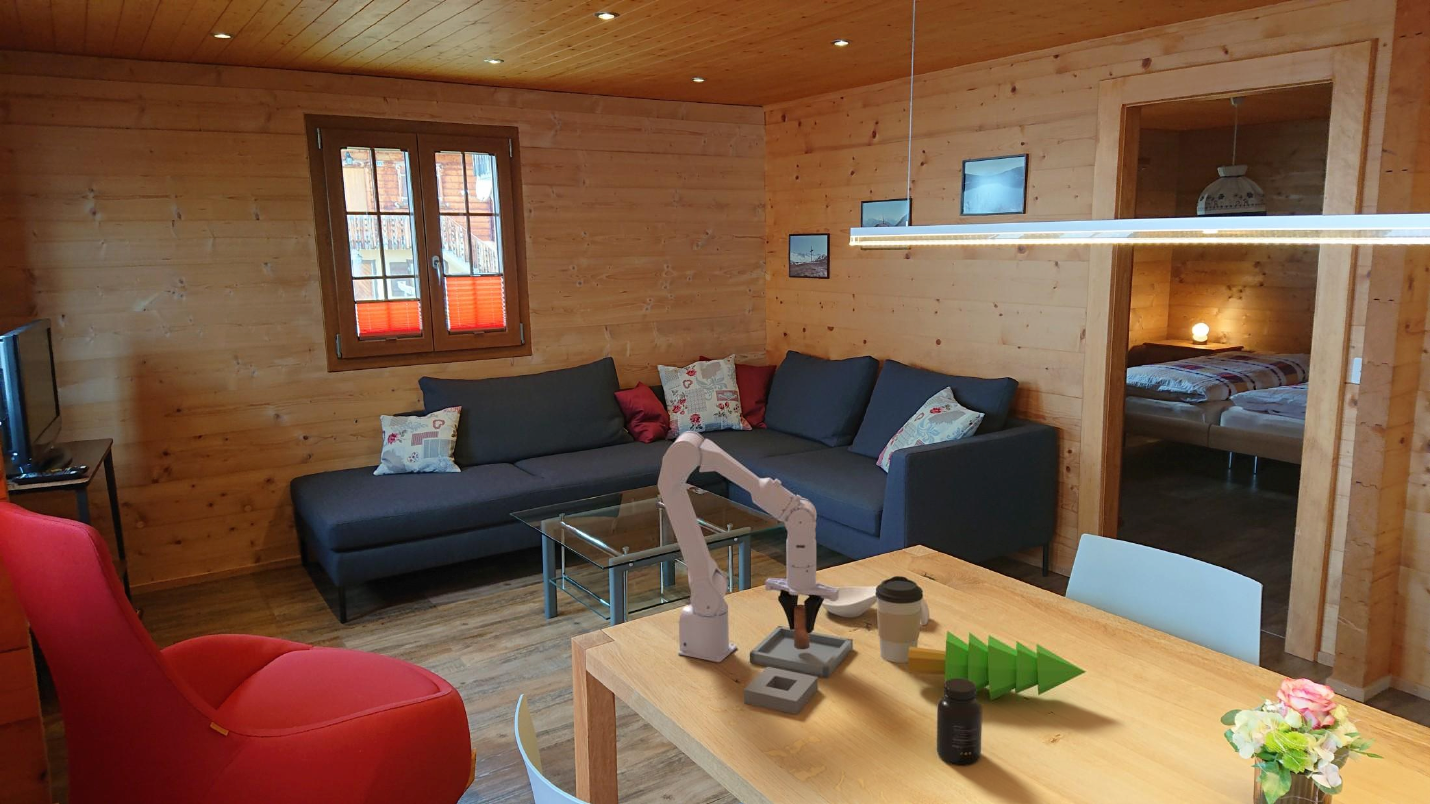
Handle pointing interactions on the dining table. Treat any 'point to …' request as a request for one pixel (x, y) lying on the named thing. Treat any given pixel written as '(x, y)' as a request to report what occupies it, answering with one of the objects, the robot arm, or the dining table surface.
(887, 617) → the coffee cup
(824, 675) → the tray
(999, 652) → the decorative tree
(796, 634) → the dowel pin
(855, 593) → the spoon rest
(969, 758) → the supplement bottle
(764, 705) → the socket block
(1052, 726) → the dining table surface
